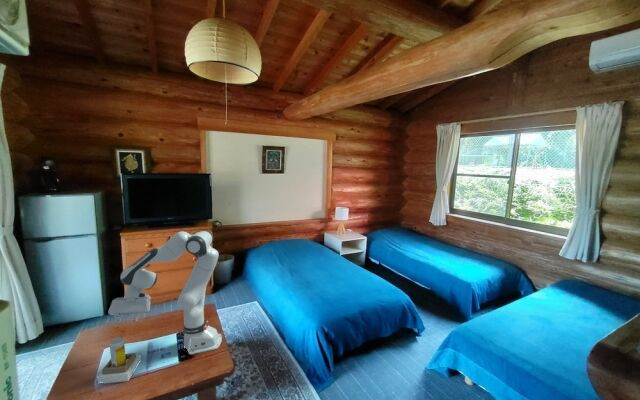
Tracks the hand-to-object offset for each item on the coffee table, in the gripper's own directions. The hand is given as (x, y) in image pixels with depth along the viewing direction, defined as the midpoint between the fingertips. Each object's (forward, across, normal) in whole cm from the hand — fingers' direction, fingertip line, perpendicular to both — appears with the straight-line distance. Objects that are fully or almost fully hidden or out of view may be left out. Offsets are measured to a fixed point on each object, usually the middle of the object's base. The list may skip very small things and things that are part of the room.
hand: (125, 322), depth 151 cm
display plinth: (+23, 0, +10) cm, 25 cm away
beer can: (+20, 0, +7) cm, 22 cm away
